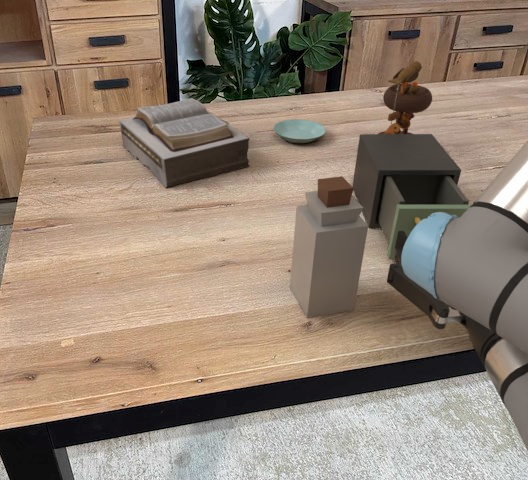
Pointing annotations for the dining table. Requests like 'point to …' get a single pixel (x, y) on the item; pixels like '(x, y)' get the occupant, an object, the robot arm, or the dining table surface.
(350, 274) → the perfume bottle
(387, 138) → the cabinet
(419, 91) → the bird figurine
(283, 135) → the saucer
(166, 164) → the bible
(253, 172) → the dining table surface
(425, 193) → the drawer
